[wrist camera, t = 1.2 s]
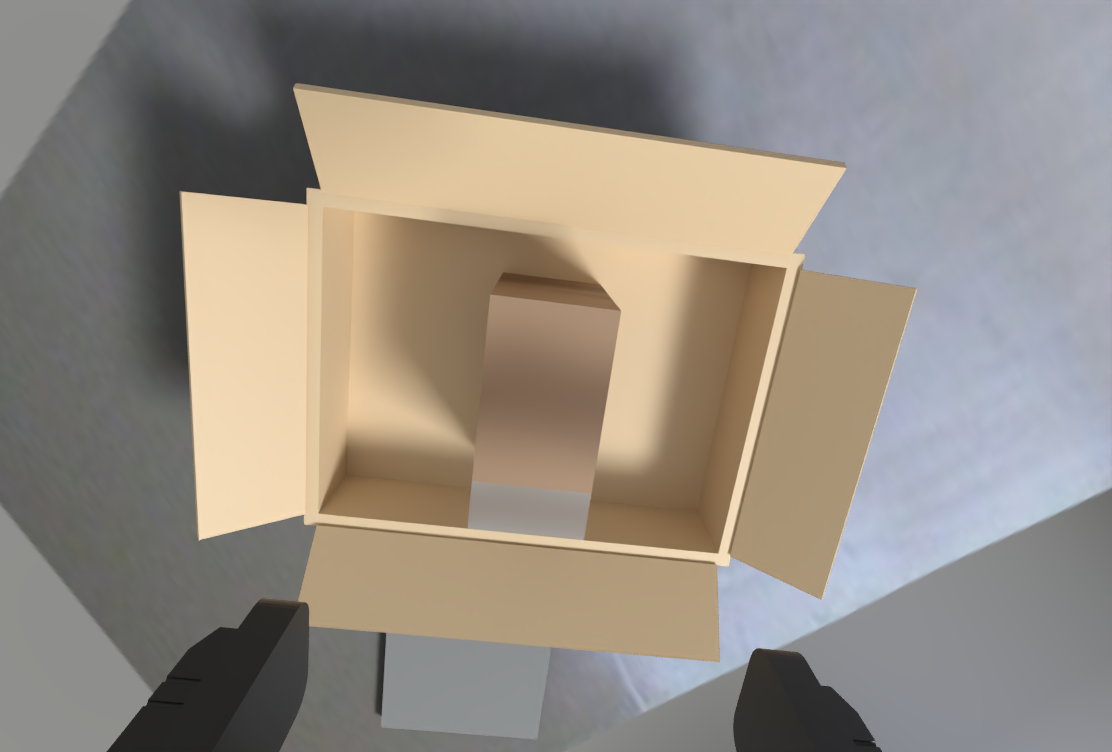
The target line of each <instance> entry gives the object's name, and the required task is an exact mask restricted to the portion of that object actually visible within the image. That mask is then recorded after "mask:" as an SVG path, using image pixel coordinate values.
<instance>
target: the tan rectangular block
mask: <svg viewBox="0 0 1112 752" xmlns="http://www.w3.org/2000/svg"><path fill="white" fill-rule="evenodd" d="M620 316H621V310H620V309H619V307H618V306H617V305H616V303H615V302H614V301H613V300H612V298H611V297H610V296H609V295H608V293H607V292H606V291H605V290H604V288H603V287H602V286H601V285H599V284H591V283H584V282H576V281H568V280H560V279H552V278H545V277H537V276H529V275H521V274H513V273H505V272H503V273H502V275H501V277H500V279H499V280H498V282H497V284H496V285H495V287H494V289H493V291H492V292H491V294H490V302H489V312H488V323H487V333H486V343H485V353H484V363H483V374H482V384H481V394H480V404H479V414H478V425H477V435H476V445H475V455H474V466H473V476H472V486H471V496H470V506H469V517H468V527H467V528H468V529H478V530H488V531H498V532H509V533H519V534H529V535H539V536H549V537H559V538H569V539H579V540H584V536H585V530H586V524H587V518H588V512H589V506H590V500H591V494H592V487H593V481H594V475H595V469H596V463H597V457H598V451H599V445H600V438H601V432H602V426H603V420H604V414H605V408H606V402H607V396H608V389H609V383H610V377H611V371H612V365H613V359H614V353H615V347H616V340H617V334H618V328H619V322H620Z"/></svg>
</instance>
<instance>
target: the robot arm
mask: <svg viewBox="0 0 1112 752" xmlns="http://www.w3.org/2000/svg"><path fill="white" fill-rule="evenodd" d="M308 647H309V606H308V604H307V603H306V602H297V601H287V600H277V599H266V598H262V599H260V600H259V601H258V602H257V603H256V604H255V606H254V607H253V608H252V610H251V611H250V613H249V614H248V615H247V617H246V618H245V620H244V621H243V622H242V624H241V625H240V626H239V628H238V629H234V628H223V627H220V628H218V629H217V630H215V631H214V632H213V633H211V634H210V635H208V636H207V637H205V638H204V639H203V640H201V641H200V642H198V643H197V644H195V645H194V646H193V647H191V648H190V649H189V650H188V651H187V652H186V653H185V655H184V656H183V657H182V658H181V660H180V661H179V662H178V663H177V665H176V666H175V667H174V668H173V670H172V671H171V672H170V673H169V675H168V676H167V679H166V681H165V682H162V683H161V685H160V686H159V687H158V688H157V690H156V691H155V692H154V693H153V695H152V696H151V697H150V698H149V700H148V703H147V705H146V706H143V707H142V708H141V710H140V711H139V712H138V713H137V715H136V716H135V717H134V718H133V720H132V721H131V722H130V723H129V725H128V726H127V727H126V728H125V730H124V731H123V732H122V733H121V735H120V736H119V737H118V738H117V740H116V741H115V742H114V743H113V745H112V746H111V747H110V748H109V750H108V751H107V752H279V751H280V749H281V747H282V745H283V743H284V740H285V738H286V736H287V734H288V732H289V730H290V728H291V726H292V724H293V722H294V720H295V718H296V716H297V713H298V711H299V708H300V706H301V703H302V700H303V696H304V692H305V688H306V683H307V676H308ZM733 725H734V726H733V729H734V741H735V746H736V750H737V752H882V751H881V749H880V748H879V747H876V744H875V742H876V741H875V740H874V738H873V737H872V735H871V733H870V732H869V730H868V729H867V727H866V725H865V724H864V722H863V721H862V719H861V717H860V716H859V714H858V713H857V712H856V711H855V710H854V709H853V708H852V707H851V706H850V705H849V704H848V703H847V702H846V701H845V700H844V699H843V698H842V697H841V696H839V694H838V693H837V692H836V691H835V690H834V689H832V688H831V687H829V686H821V685H820V684H819V682H818V680H817V679H816V677H815V675H814V673H813V672H812V670H811V668H810V667H809V665H808V663H807V662H806V660H805V658H804V657H803V656H802V655H801V654H800V653H798V652H790V651H780V650H770V649H760V648H758V649H755V650H754V651H753V653H752V655H751V658H750V661H749V665H748V668H747V672H746V675H745V679H744V682H743V686H742V689H741V693H740V696H739V700H738V703H737V707H736V711H735V715H734V724H733Z"/></svg>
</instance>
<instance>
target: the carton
mask: <svg viewBox="0 0 1112 752" xmlns="http://www.w3.org/2000/svg"><path fill="white" fill-rule="evenodd" d="M293 90H294V93H295V97H296V101H297V104H298V108H299V111H300V115H301V119H302V122H303V126H304V130H305V133H306V137H307V140H308V144H309V148H310V151H311V155H312V159H313V162H314V166H315V169H316V173H317V177H318V180H319V184H320V188H321V189H316V188H307V204H299V203H290V202H280V201H271V200H261V199H251V198H242V197H232V196H223V195H213V194H204V193H194V192H184V191H180V211H181V230H182V249H183V269H184V288H185V308H186V327H187V346H188V366H189V385H190V405H191V424H192V443H193V463H194V482H195V502H196V521H197V537H198V539H199V540H201V539H205V538H209V537H213V536H217V535H221V534H225V533H230V532H234V531H238V530H242V529H246V528H250V527H254V526H258V525H262V524H266V523H270V522H275V521H279V520H283V519H287V518H291V517H295V516H299V515H303V514H304V524H305V525H315V526H317V527H316V531H315V535H314V539H313V543H312V547H311V551H310V555H309V559H308V564H307V568H306V572H305V576H304V580H303V584H302V588H301V592H300V596H299V600H298V602H306V603H307V604H308V606H309V626H315V627H327V628H338V629H349V630H361V631H372V632H383V633H395V634H406V635H418V636H429V637H440V638H452V639H463V640H474V641H486V642H497V643H508V644H520V645H531V646H543V647H554V648H565V649H577V650H588V651H599V652H611V653H622V654H633V655H645V656H656V657H668V658H679V659H690V660H702V661H713V662H720V647H719V615H718V582H717V565H720V566H729V562H730V558H731V557H732V558H735V559H737V560H739V561H741V562H743V563H745V564H747V565H749V566H751V567H753V568H756V569H758V570H760V571H762V572H764V573H766V574H768V575H770V576H772V577H775V578H777V579H779V580H781V581H783V582H785V583H787V584H789V585H791V586H794V587H796V588H798V589H800V590H802V591H804V592H806V593H808V594H810V595H813V596H815V597H817V598H819V599H822V598H823V596H824V592H825V589H826V586H827V582H828V579H829V576H830V573H831V569H832V566H833V563H834V560H835V556H836V553H837V550H838V546H839V543H840V540H841V537H842V533H843V530H844V527H845V524H846V520H847V517H848V514H849V511H850V507H851V504H852V501H853V497H854V494H855V491H856V488H857V484H858V481H859V478H860V475H861V471H862V468H863V465H864V461H865V458H866V455H867V452H868V448H869V445H870V442H871V439H872V435H873V432H874V429H875V426H876V422H877V419H878V416H879V412H880V409H881V406H882V403H883V399H884V396H885V393H886V390H887V386H888V383H889V380H890V376H891V373H892V370H893V367H894V363H895V360H896V357H897V354H898V350H899V347H900V344H901V341H902V337H903V334H904V331H905V327H906V324H907V321H908V318H909V314H910V311H911V308H912V305H913V301H914V298H915V295H916V292H917V288H911V287H905V286H899V285H892V284H886V283H880V282H874V281H868V280H861V279H855V278H849V277H843V276H837V275H830V274H824V273H818V272H812V271H805V270H802V267H803V263H804V259H805V255H804V254H799V253H793V252H794V251H795V249H796V247H797V246H798V244H799V243H800V241H801V239H802V238H803V236H804V235H805V233H806V232H807V230H808V228H809V227H810V225H811V224H812V222H813V220H814V219H815V217H816V216H817V214H818V213H819V211H820V209H821V208H822V206H823V205H824V203H825V202H826V200H827V198H828V197H829V195H830V194H831V192H832V190H833V189H834V187H835V186H836V184H837V183H838V181H839V179H840V178H841V176H842V175H843V173H844V171H845V170H846V165H845V163H844V162H837V161H830V160H823V159H816V158H810V157H803V156H796V155H789V154H782V153H775V152H768V151H761V150H754V149H748V148H741V147H734V146H727V145H720V144H713V143H706V142H699V141H692V140H686V139H679V138H672V137H665V136H658V135H651V134H644V133H637V132H630V131H624V130H617V129H610V128H603V127H596V126H589V125H582V124H575V123H568V122H562V121H555V120H548V119H541V118H534V117H527V116H520V115H513V114H506V113H500V112H493V111H486V110H479V109H472V108H465V107H458V106H451V105H444V104H438V103H431V102H424V101H417V100H410V99H403V98H396V97H389V96H382V95H376V94H369V93H362V92H355V91H348V90H341V89H334V88H327V87H320V86H314V85H307V84H300V83H296V84H295V86H294V87H293ZM503 272H505V273H513V274H521V275H529V276H537V277H545V278H552V279H560V280H568V281H576V282H584V283H591V284H599V285H601V286H602V287H603V288H604V290H605V291H606V292H607V293H608V295H609V296H610V297H611V298H612V300H613V301H614V302H615V303H616V305H617V306H618V307H619V309H620V310H621V316H620V322H619V328H618V334H617V340H616V347H615V353H614V359H613V365H612V371H611V377H610V383H609V389H608V396H607V402H606V408H605V414H604V420H603V426H602V432H601V438H600V445H599V451H598V457H597V463H596V469H595V475H594V481H593V487H592V494H591V500H590V506H589V512H588V518H587V524H586V530H585V536H584V540H579V539H569V538H559V537H549V536H539V535H529V534H519V533H509V532H498V531H488V530H478V529H468V528H467V527H468V517H469V506H470V496H471V486H472V476H473V466H474V455H475V445H476V435H477V425H478V414H479V404H480V394H481V384H482V374H483V363H484V353H485V343H486V333H487V323H488V312H489V302H490V294H491V292H492V291H493V289H494V287H495V285H496V284H497V282H498V280H499V279H500V277H501V275H502V273H503Z"/></svg>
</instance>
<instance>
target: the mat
mask: <svg viewBox="0 0 1112 752" xmlns="http://www.w3.org/2000/svg"><path fill="white" fill-rule="evenodd" d="M550 652H551V647H543V646H531V645H520V644H508V643H497V642H486V641H474V640H463V639H452V638H440V637H429V636H418V635H406V634H395V633H386V648H385V666H384V684H383V701H382V719H381V727H385V728H398V729H410V730H423V731H436V732H449V733H462V734H475V735H487V736H500V737H513V738H526V739H537V737H538V730H539V724H540V717H541V711H542V704H543V698H544V691H545V685H546V678H547V672H548V665H549V659H550Z"/></svg>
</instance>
